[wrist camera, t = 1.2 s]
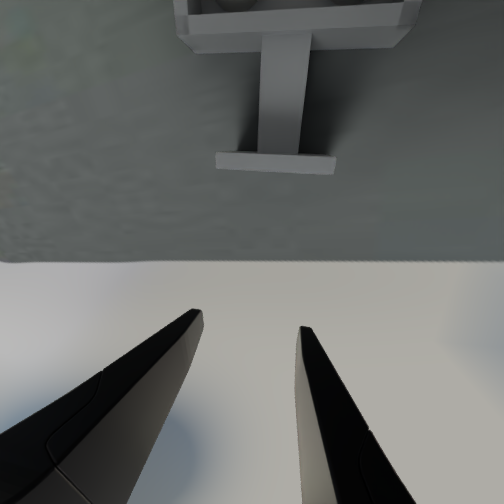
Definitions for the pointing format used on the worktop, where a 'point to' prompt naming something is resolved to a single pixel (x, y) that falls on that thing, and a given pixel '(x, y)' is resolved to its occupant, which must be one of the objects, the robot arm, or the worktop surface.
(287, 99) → the tray
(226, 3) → the cream rounded block
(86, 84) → the worktop surface
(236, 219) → the worktop surface
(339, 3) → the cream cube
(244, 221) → the worktop surface
